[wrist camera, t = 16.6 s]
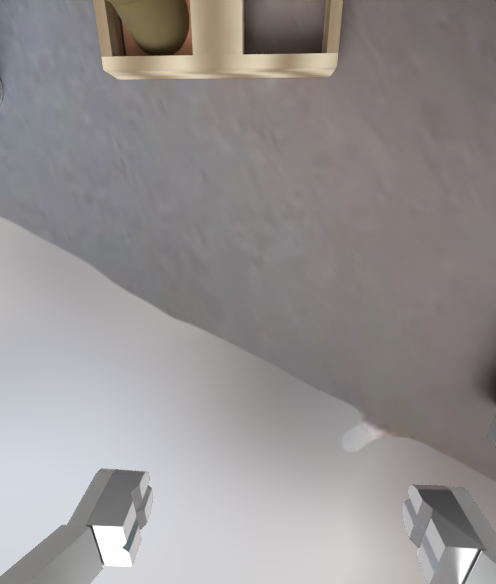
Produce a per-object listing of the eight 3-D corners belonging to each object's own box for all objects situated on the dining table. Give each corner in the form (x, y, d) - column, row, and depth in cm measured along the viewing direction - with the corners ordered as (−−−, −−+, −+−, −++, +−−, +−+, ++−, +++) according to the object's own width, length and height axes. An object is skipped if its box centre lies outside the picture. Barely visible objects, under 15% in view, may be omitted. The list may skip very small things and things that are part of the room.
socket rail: (341, -54, 26) (350, -82, 23) (329, 76, 29) (336, 66, 26) (101, -47, 27) (82, -72, 24) (118, 79, 30) (103, 69, 27)
